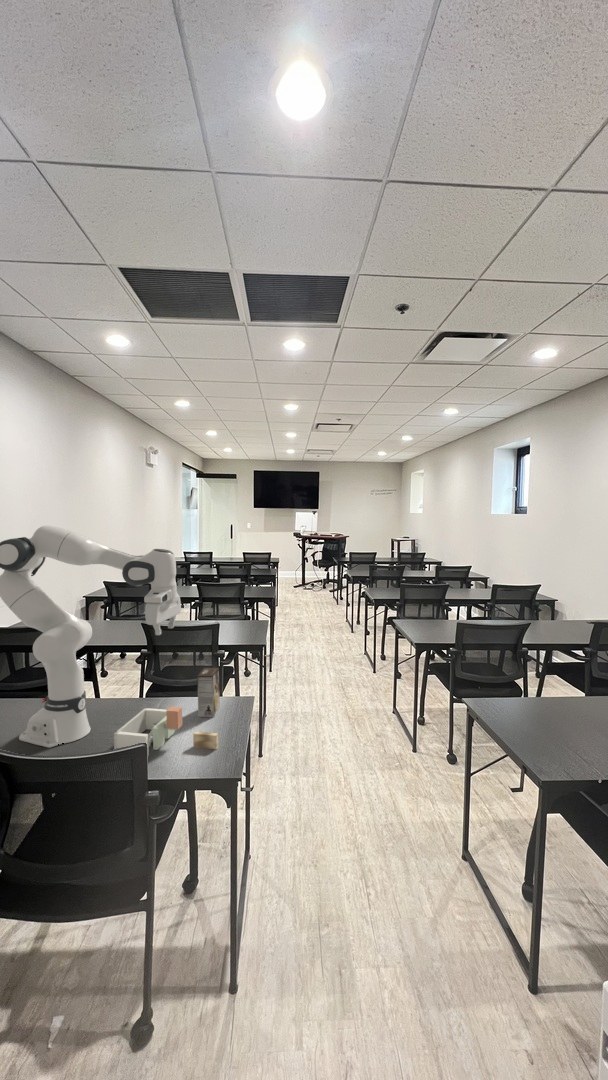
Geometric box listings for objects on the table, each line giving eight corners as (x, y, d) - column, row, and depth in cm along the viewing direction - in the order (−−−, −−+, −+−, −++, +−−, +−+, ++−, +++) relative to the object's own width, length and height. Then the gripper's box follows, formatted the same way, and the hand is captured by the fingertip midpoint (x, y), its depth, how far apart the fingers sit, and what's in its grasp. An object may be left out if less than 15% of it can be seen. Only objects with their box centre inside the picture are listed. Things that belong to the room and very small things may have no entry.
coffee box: (204, 706, 179) (203, 667, 178) (220, 707, 179) (219, 667, 178) (197, 717, 170) (197, 675, 169) (214, 717, 169) (213, 675, 169)
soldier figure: (133, 753, 146) (140, 726, 157) (145, 760, 148) (151, 732, 159) (149, 739, 145) (155, 712, 156) (161, 746, 146) (166, 719, 158)
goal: (114, 754, 143) (113, 733, 143) (145, 726, 162) (145, 708, 162) (146, 758, 142) (145, 736, 141) (173, 729, 160) (173, 710, 160)
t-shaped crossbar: (153, 749, 145) (152, 716, 144) (170, 731, 157) (170, 700, 156) (172, 751, 144) (171, 717, 143) (188, 733, 155) (187, 702, 155)
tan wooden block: (193, 747, 148) (193, 733, 148) (195, 744, 150) (195, 731, 149) (216, 749, 147) (216, 735, 146) (218, 746, 148) (218, 733, 148)
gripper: (169, 588, 173) (170, 624, 174) (141, 598, 153) (142, 638, 154) (184, 589, 172) (185, 624, 173) (158, 599, 152) (159, 639, 153)
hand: (165, 631), depth 163 cm, fingers open, 8 cm apart
